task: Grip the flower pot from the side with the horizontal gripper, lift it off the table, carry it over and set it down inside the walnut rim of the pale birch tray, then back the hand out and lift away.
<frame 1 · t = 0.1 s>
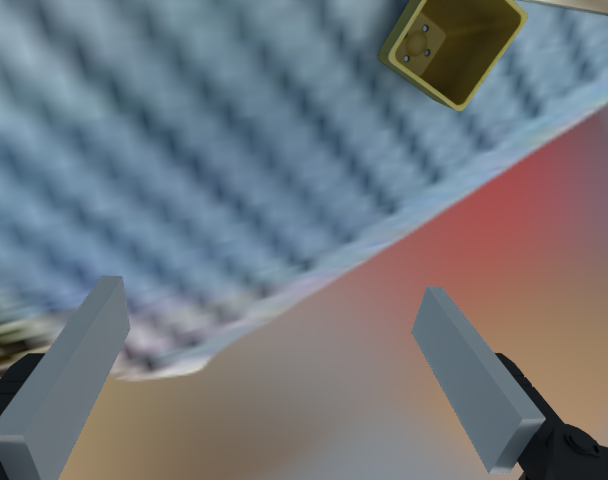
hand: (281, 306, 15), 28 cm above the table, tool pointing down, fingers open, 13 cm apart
flower pot: (414, 42, 36), on the table
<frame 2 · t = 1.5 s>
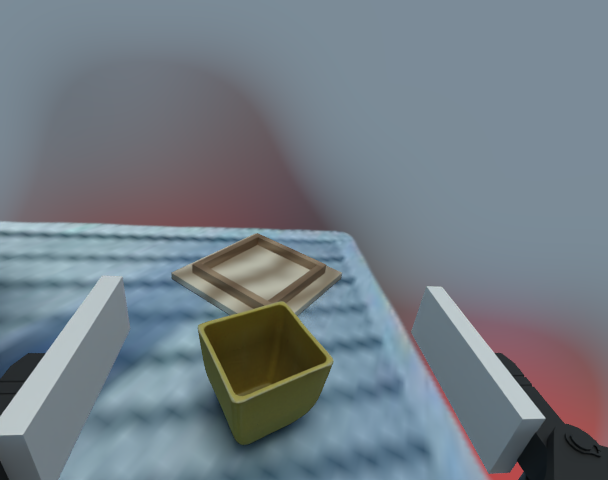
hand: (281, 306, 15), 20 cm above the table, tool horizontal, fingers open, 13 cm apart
flower pot: (256, 412, 33), on the table
birch tray: (261, 278, 52), on the table
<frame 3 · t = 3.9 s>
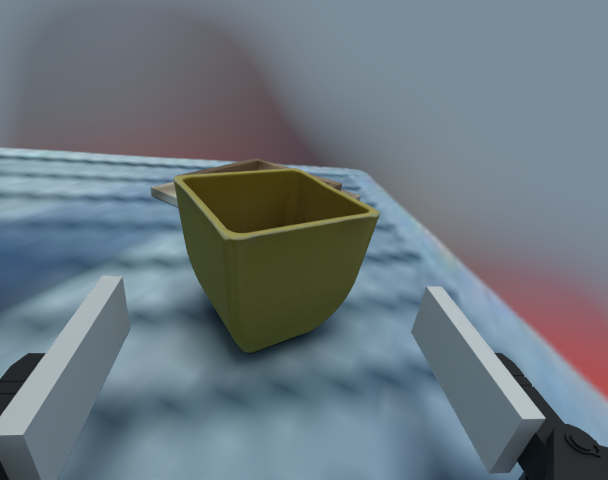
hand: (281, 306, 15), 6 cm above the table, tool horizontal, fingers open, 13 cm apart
flower pot: (262, 321, 23), on the table
birch tray: (262, 199, 43), on the table
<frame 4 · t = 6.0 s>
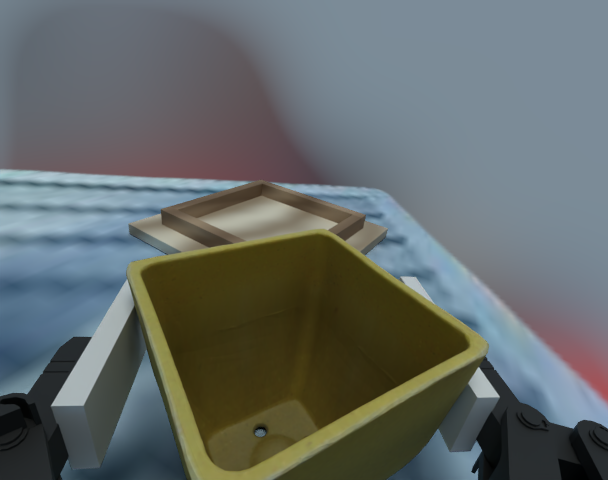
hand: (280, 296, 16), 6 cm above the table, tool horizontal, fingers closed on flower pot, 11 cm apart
flower pot: (273, 466, 15), on the table, touching gripper
birch tray: (268, 235, 34), on the table
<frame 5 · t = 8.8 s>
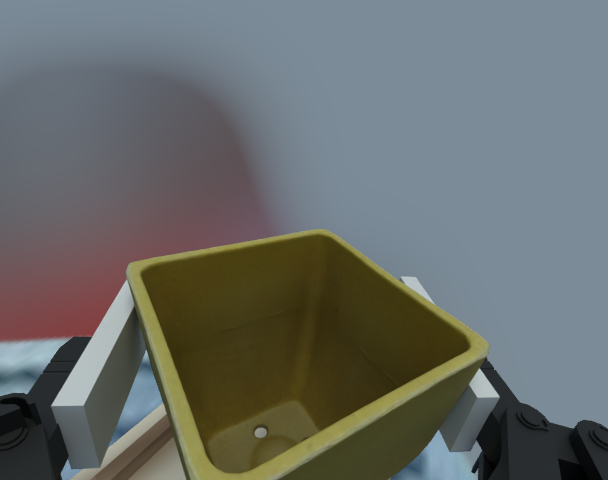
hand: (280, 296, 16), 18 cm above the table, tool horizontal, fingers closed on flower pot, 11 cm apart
flower pot: (273, 467, 15), point 12 cm above the table, touching gripper
when the fingers open (8 cm above the table, at t = 11.6 s): flower pot drops 1 cm, resting on birch tray.
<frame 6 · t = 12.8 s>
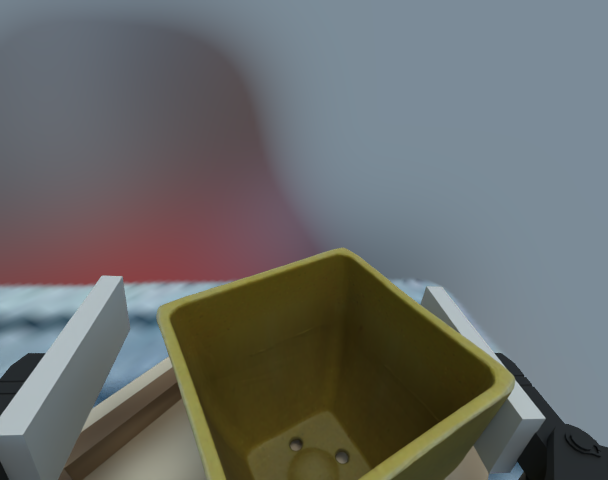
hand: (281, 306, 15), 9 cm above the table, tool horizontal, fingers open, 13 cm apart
flower pot: (310, 479, 16), point 1 cm above the table, touching birch tray, gripper
birch tray: (268, 474, 17), on the table
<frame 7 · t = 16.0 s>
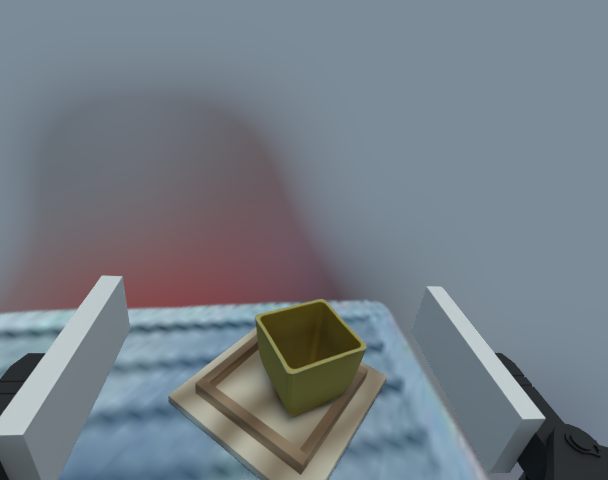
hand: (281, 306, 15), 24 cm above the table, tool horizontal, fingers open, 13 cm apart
flower pot: (300, 392, 39), point 1 cm above the table, touching birch tray
birch tray: (284, 391, 40), on the table
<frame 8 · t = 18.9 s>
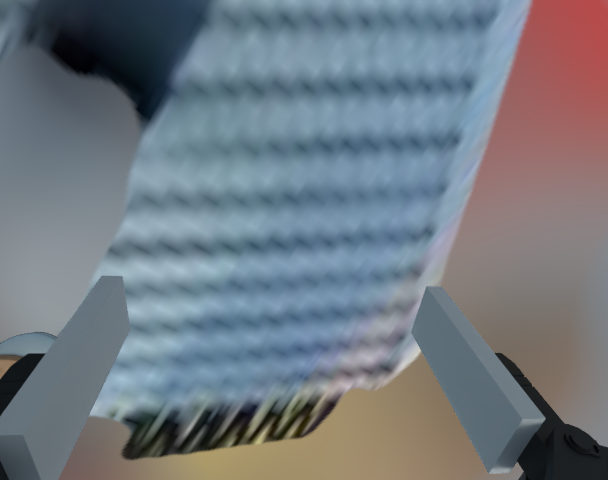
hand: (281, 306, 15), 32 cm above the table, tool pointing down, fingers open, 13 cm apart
lidded jar: (44, 345, 54), on the table
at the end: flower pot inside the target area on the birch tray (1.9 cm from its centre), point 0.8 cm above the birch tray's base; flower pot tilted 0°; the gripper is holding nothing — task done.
